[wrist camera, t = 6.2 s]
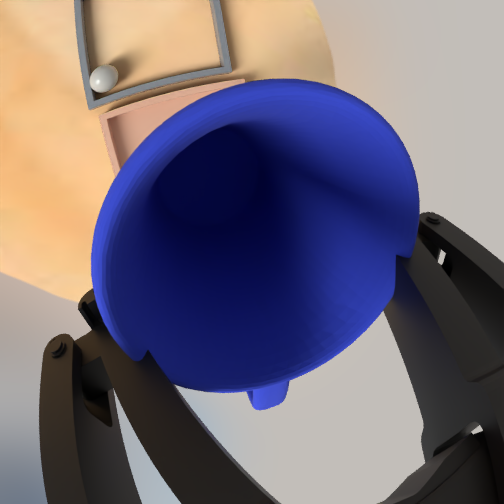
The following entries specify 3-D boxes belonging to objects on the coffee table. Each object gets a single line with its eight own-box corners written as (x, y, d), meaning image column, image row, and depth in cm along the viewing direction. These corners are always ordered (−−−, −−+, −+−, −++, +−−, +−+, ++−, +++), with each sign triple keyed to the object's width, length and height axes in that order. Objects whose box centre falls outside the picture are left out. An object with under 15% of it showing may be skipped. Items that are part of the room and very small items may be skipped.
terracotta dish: (102, 114, 22) (98, 115, 20) (238, 80, 25) (244, 78, 24) (139, 237, 30) (139, 244, 29) (258, 201, 33) (263, 206, 32)
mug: (159, 305, 17) (186, 450, 9) (119, 110, 11) (37, 113, 3) (276, 278, 19) (356, 392, 11) (277, 95, 13) (440, 107, 5)
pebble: (91, 72, 19) (84, 69, 17) (117, 63, 20) (113, 58, 17) (95, 97, 21) (89, 96, 18) (122, 87, 21) (118, 85, 19)
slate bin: (76, -2, 13) (74, -6, 12) (209, -33, 16) (212, -38, 15) (91, 109, 21) (88, 109, 20) (228, 73, 24) (232, 71, 23)
